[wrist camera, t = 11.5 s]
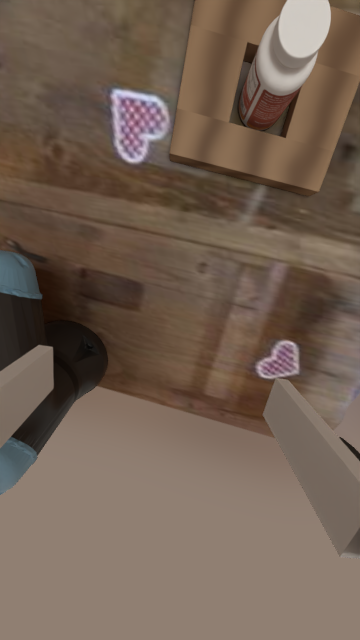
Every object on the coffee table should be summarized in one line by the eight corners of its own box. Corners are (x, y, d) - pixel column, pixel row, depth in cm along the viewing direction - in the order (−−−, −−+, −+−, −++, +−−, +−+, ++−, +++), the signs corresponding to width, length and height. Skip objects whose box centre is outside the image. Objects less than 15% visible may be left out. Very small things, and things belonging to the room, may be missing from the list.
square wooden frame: (170, 160, 31) (169, 153, 29) (199, -10, 26) (201, -37, 23) (308, 196, 33) (318, 191, 30) (363, 42, 27) (381, 22, 25)
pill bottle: (291, 103, 29) (355, 19, 19) (258, 143, 30) (299, 86, 20) (261, 64, 28) (311, -51, 17) (228, 108, 29) (256, 26, 19)
